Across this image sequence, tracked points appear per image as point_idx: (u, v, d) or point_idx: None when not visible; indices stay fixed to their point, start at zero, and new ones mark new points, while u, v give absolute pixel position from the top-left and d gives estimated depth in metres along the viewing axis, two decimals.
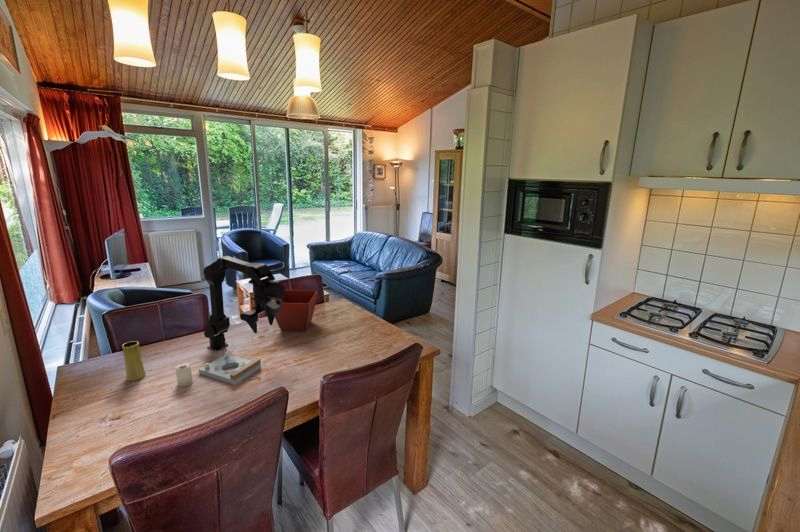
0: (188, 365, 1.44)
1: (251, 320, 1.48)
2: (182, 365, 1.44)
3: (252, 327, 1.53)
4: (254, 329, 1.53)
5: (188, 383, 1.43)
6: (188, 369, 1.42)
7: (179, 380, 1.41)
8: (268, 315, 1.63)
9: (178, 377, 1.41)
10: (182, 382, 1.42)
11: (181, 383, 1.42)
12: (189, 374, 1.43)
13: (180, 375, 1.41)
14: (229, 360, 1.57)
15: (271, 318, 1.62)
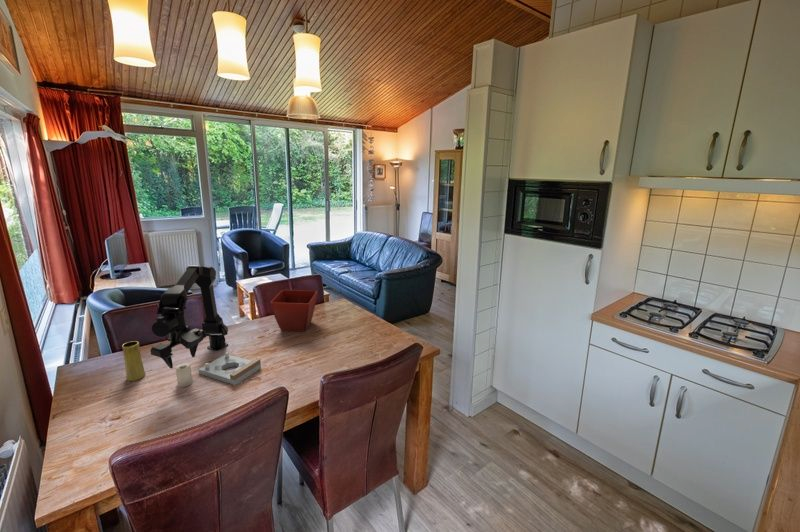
0: (188, 365, 1.44)
1: (162, 355, 1.31)
2: (182, 365, 1.44)
3: (166, 362, 1.37)
4: (169, 364, 1.37)
5: (188, 383, 1.43)
6: (188, 369, 1.42)
7: (179, 380, 1.41)
8: None
9: (178, 377, 1.41)
10: (182, 382, 1.42)
11: (181, 383, 1.42)
12: (189, 374, 1.43)
13: (180, 375, 1.41)
14: (229, 360, 1.57)
15: (193, 350, 1.45)
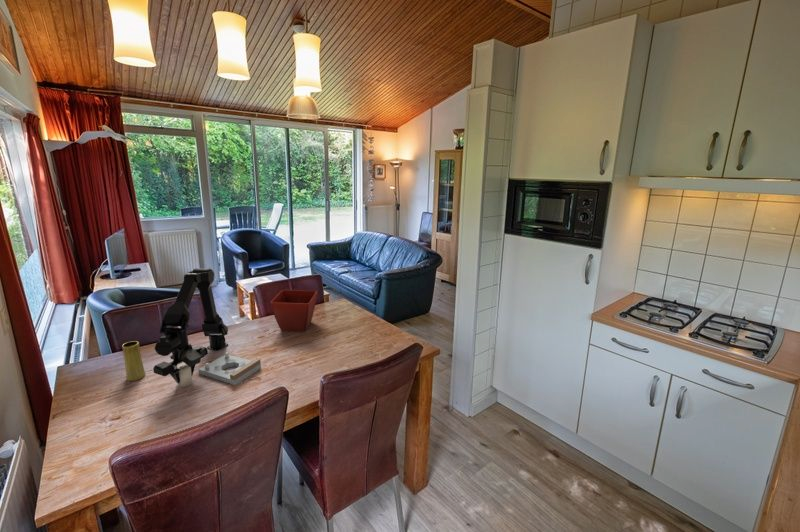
0: None
1: (164, 374, 1.33)
2: (182, 365, 1.44)
3: (174, 377, 1.40)
4: (176, 379, 1.40)
5: (188, 383, 1.43)
6: (188, 369, 1.42)
7: None
8: None
9: None
10: (182, 382, 1.42)
11: (181, 383, 1.42)
12: (189, 374, 1.43)
13: (180, 375, 1.41)
14: (229, 360, 1.57)
15: None
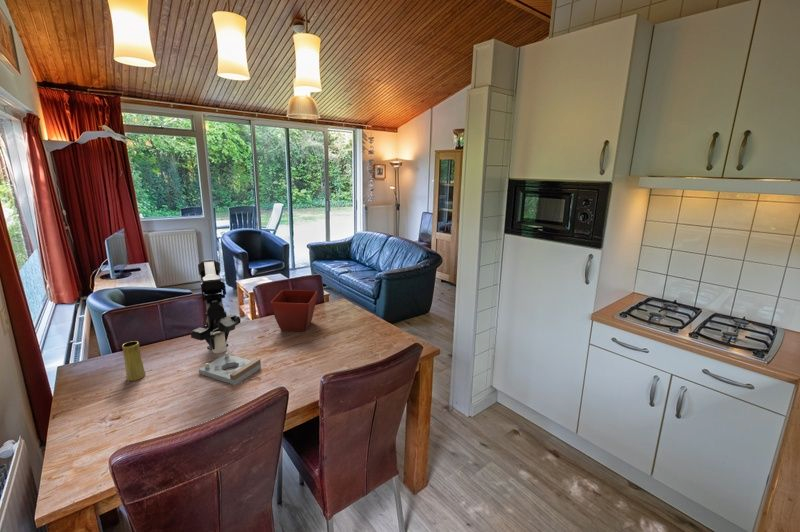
0: (222, 332, 1.49)
1: (201, 338, 1.38)
2: (217, 332, 1.48)
3: (209, 343, 1.45)
4: (211, 345, 1.45)
5: (222, 350, 1.48)
6: (222, 336, 1.47)
7: None
8: None
9: None
10: (217, 348, 1.46)
11: (216, 349, 1.46)
12: (223, 341, 1.48)
13: (215, 341, 1.46)
14: (229, 360, 1.57)
15: None
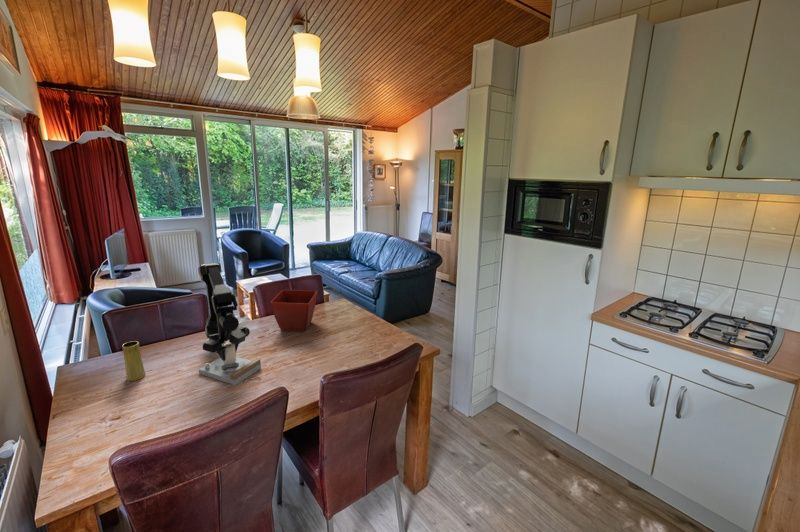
0: (232, 344, 1.52)
1: (213, 350, 1.41)
2: (227, 344, 1.52)
3: (220, 354, 1.48)
4: (222, 356, 1.49)
5: (233, 360, 1.51)
6: (233, 347, 1.50)
7: (225, 357, 1.50)
8: None
9: None
10: (228, 359, 1.50)
11: (227, 360, 1.50)
12: (234, 352, 1.51)
13: (226, 352, 1.49)
14: None
15: None
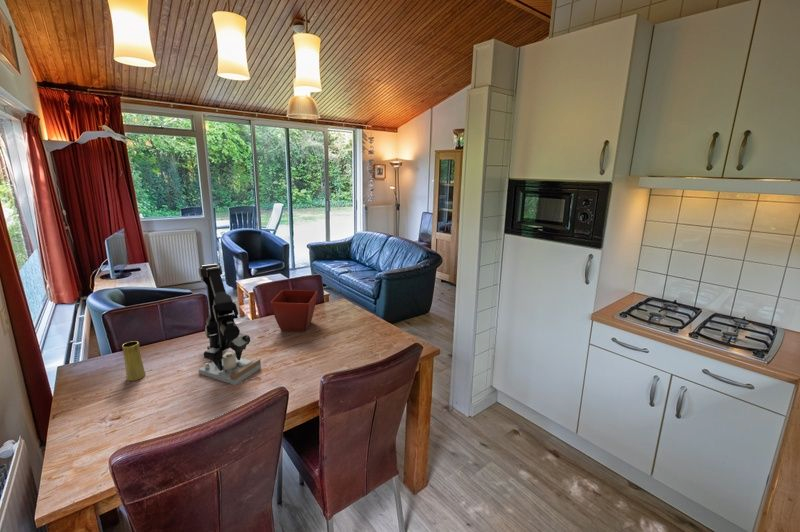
0: (233, 354, 1.53)
1: (214, 359, 1.42)
2: (228, 354, 1.53)
3: (217, 365, 1.47)
4: (219, 367, 1.48)
5: None
6: (234, 357, 1.52)
7: (226, 367, 1.51)
8: None
9: (224, 365, 1.51)
10: None
11: (228, 370, 1.51)
12: (235, 362, 1.52)
13: (227, 362, 1.50)
14: None
15: (238, 353, 1.56)
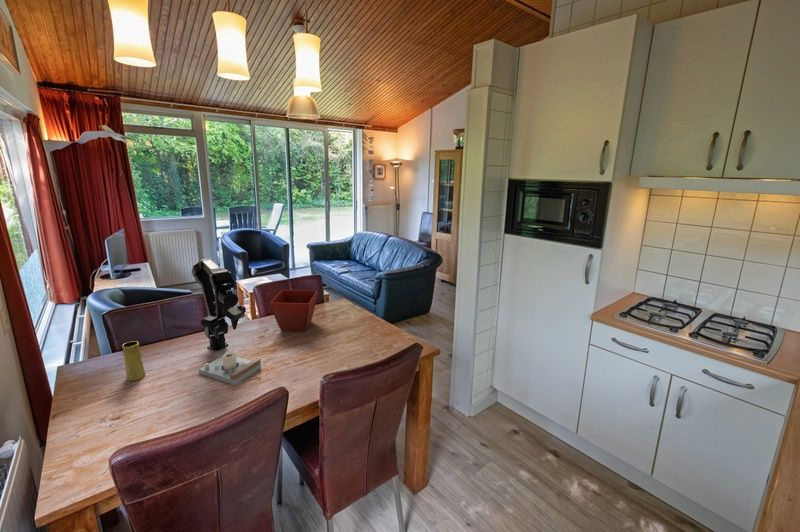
0: (233, 354, 1.53)
1: (211, 326, 1.49)
2: (228, 354, 1.53)
3: (213, 332, 1.55)
4: (215, 334, 1.55)
5: None
6: (234, 357, 1.52)
7: (226, 367, 1.51)
8: (232, 320, 1.64)
9: (224, 365, 1.51)
10: None
11: (228, 370, 1.51)
12: (235, 362, 1.52)
13: (227, 362, 1.50)
14: None
15: (234, 323, 1.63)
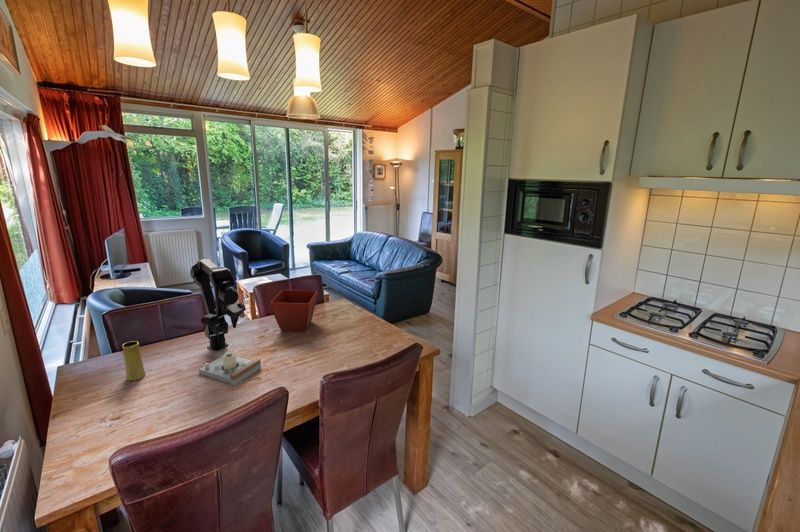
0: (233, 354, 1.53)
1: (211, 323, 1.50)
2: (228, 354, 1.53)
3: (213, 330, 1.56)
4: (215, 332, 1.56)
5: None
6: (234, 357, 1.52)
7: (226, 367, 1.51)
8: (231, 318, 1.65)
9: (224, 365, 1.51)
10: None
11: (228, 370, 1.51)
12: (235, 362, 1.52)
13: (227, 362, 1.50)
14: None
15: (234, 321, 1.64)
